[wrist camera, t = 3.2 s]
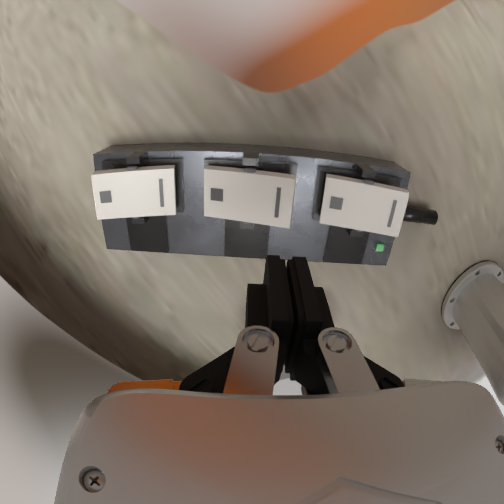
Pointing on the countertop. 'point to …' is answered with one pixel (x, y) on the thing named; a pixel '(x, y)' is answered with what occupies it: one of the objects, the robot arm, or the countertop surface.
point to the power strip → (253, 235)
